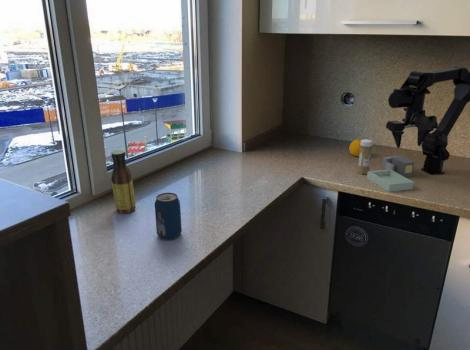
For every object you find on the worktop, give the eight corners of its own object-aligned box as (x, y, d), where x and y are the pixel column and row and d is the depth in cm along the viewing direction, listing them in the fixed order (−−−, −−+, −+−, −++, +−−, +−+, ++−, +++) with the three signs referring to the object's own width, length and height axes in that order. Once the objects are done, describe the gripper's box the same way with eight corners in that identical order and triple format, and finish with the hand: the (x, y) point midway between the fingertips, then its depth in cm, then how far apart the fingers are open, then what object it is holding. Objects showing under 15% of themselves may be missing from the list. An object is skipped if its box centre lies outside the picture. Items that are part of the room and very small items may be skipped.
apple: (345, 154, 184) (346, 138, 182) (358, 152, 187) (360, 136, 185) (356, 159, 177) (358, 142, 175) (370, 156, 180) (372, 140, 178)
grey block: (398, 170, 164) (400, 156, 162) (411, 177, 157) (414, 162, 154) (390, 171, 163) (392, 157, 161) (402, 177, 156) (405, 163, 154)
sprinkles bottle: (367, 175, 158) (371, 142, 153) (356, 173, 160) (359, 141, 155) (370, 171, 162) (374, 139, 157) (358, 170, 164) (362, 138, 159)
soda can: (182, 229, 116) (180, 191, 112) (180, 241, 110) (178, 201, 106) (159, 229, 116) (156, 191, 112) (155, 241, 110) (152, 202, 105)
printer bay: (397, 166, 167) (399, 155, 166) (407, 172, 161) (409, 160, 160) (381, 168, 166) (383, 157, 164) (391, 173, 160) (393, 161, 158)
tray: (389, 175, 157) (390, 169, 156) (412, 189, 145) (413, 182, 144) (366, 178, 155) (367, 171, 154) (388, 191, 142) (389, 184, 141)
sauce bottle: (128, 204, 132) (122, 147, 125) (139, 209, 129) (134, 150, 122) (111, 211, 128) (104, 151, 121) (123, 216, 124) (116, 155, 117)
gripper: (407, 112, 138) (400, 154, 144) (452, 109, 143) (444, 150, 148) (387, 106, 148) (382, 146, 154) (430, 103, 153) (424, 142, 158)
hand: (408, 146), depth 153 cm, fingers open, 9 cm apart
